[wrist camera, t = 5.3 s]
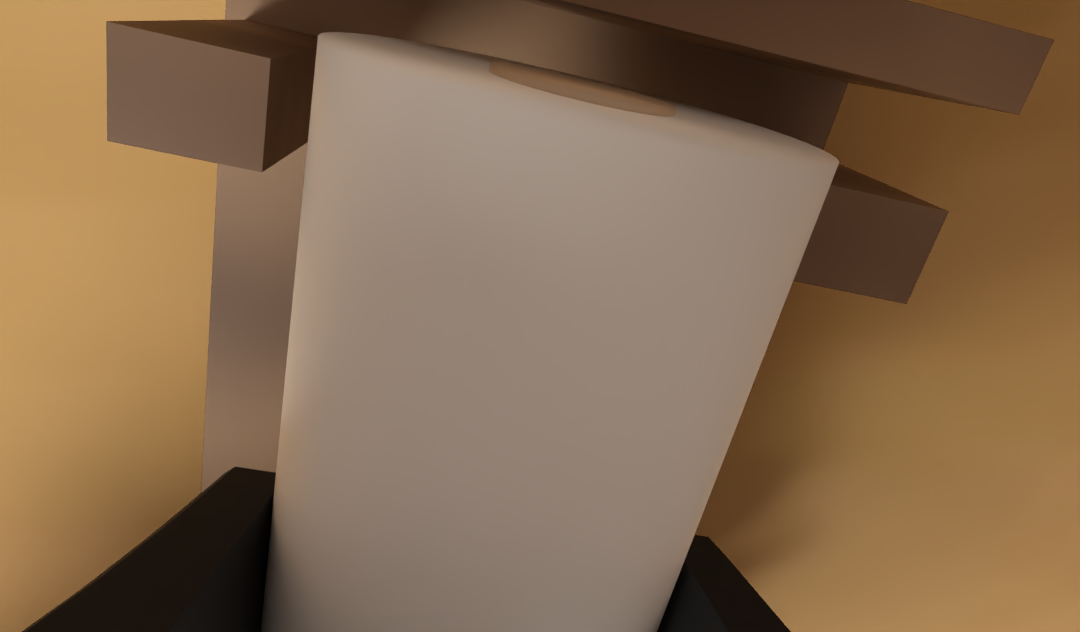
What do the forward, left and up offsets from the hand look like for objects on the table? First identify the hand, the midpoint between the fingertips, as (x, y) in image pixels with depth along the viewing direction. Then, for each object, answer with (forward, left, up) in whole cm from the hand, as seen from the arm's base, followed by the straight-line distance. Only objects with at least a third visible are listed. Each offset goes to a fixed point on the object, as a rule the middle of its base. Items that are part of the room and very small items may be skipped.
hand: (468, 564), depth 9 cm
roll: (0, 0, -2) cm, 2 cm away
